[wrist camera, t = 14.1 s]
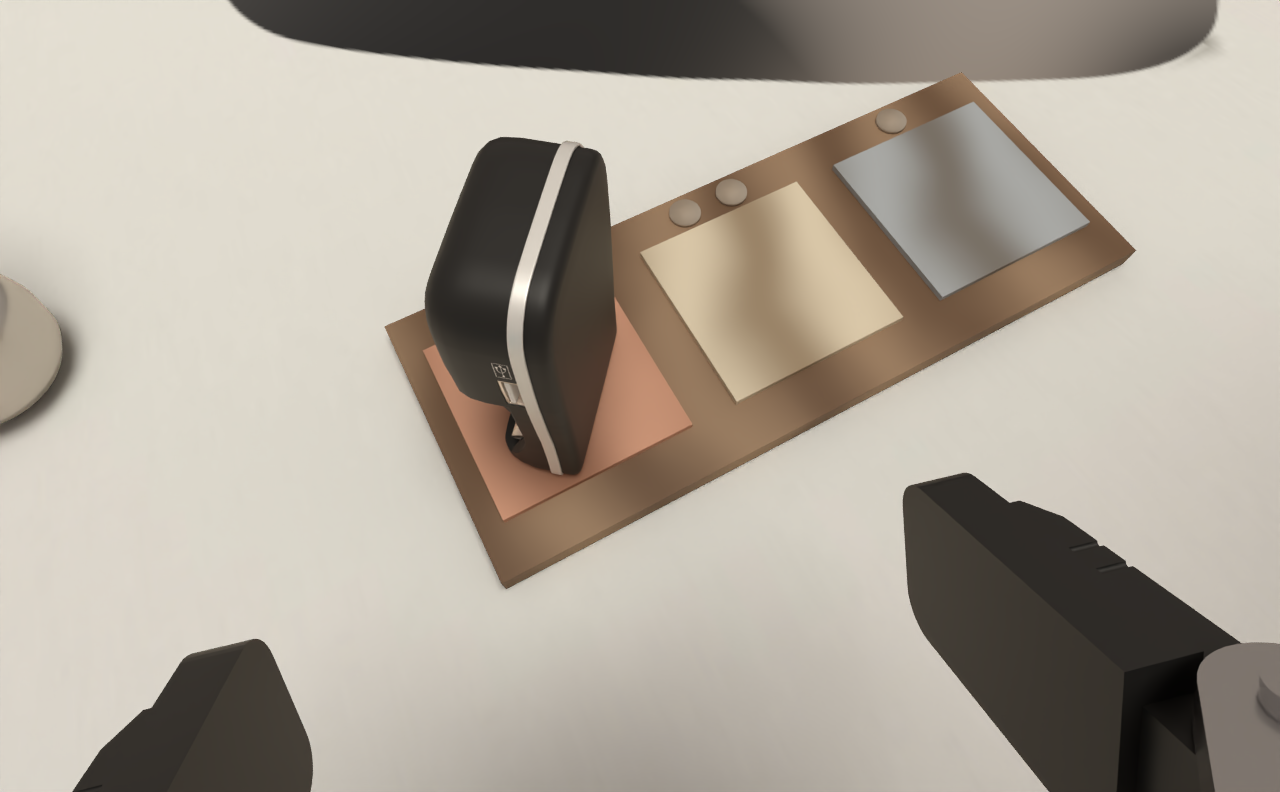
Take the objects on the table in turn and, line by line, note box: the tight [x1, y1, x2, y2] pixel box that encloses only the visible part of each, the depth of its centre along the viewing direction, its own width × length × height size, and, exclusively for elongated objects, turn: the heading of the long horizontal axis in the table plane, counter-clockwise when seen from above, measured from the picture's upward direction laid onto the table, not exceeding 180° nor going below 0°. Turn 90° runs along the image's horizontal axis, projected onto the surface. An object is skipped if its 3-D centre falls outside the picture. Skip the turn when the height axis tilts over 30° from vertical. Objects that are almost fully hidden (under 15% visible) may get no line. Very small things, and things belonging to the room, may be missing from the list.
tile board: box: [385, 72, 1136, 589], centre depth 32 cm, size 30×12×1 cm, turn 118°
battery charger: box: [425, 137, 617, 475], centre depth 25 cm, size 7×4×11 cm, turn 168°
